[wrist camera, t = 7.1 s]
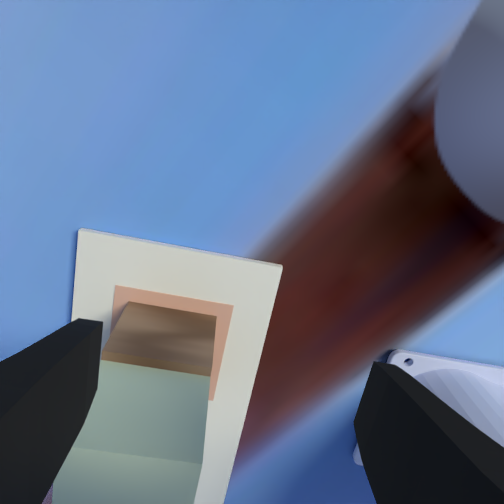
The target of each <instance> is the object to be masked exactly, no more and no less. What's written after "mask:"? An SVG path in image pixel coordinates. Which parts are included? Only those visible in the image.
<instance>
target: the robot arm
mask: <svg viewBox="0 0 504 504" xmlns="http://www.w3.org/2000/svg"><path fill="white" fill-rule="evenodd" d="M102 331H103V322H102V321H96V320H89V319H82V318H78V319H76V320H74V321H72V322H70V323H69V324H67V325H65V326H64V327H62V328H60V329H58V330H57V331H55V332H53V333H52V334H50V335H48V336H47V337H45V338H43V339H41V340H40V341H38V342H36V343H34V344H32V345H31V346H29V347H27V348H25V349H24V350H22V351H20V352H18V353H16V354H14V355H13V356H11V357H9V358H7V359H5V360H3V361H1V362H0V504H42V502H43V500H44V498H45V497H46V495H47V493H48V491H49V489H50V487H51V485H52V483H53V482H54V480H55V478H56V476H57V474H58V472H59V470H60V469H61V467H62V465H63V463H64V461H65V459H66V457H67V455H68V454H69V452H70V450H71V448H72V446H73V444H74V442H75V440H76V438H77V437H78V435H79V433H80V431H81V429H82V427H83V425H84V423H85V420H86V418H87V415H88V413H89V410H90V407H91V405H92V402H93V399H94V397H95V394H96V391H97V389H98V378H99V366H100V354H101V343H102ZM407 358H410V360H409V361H408V362H404V361H405V360H406V359H407ZM354 427H355V433H356V438H357V445H356V447H355V450H354V453H353V459H354V461H355V463H356V464H357V465H361V466H364V469H365V472H366V474H367V477H368V480H369V483H370V486H371V489H372V492H373V494H374V497H375V500H376V503H377V504H504V367H501V366H495V365H489V364H483V363H477V362H471V361H465V360H460V359H454V358H448V357H442V356H436V355H430V354H424V353H418V352H412V351H406V350H394V351H393V352H391V354H390V355H389V357H388V360H387V363H381V362H373V365H372V368H371V371H370V374H369V377H368V380H367V383H366V386H365V389H364V392H363V395H362V398H361V401H360V404H359V407H358V410H357V413H356V416H355V419H354Z"/></svg>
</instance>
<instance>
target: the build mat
mask: <svg viewBox="0 0 504 504" xmlns="http://www.w3.org/2000/svg"><path fill="white" fill-rule="evenodd" d="M282 269H283V267H282V265H280V264H274V263H269V262H264V261H258V260H253V259H247V258H242V257H237V256H231V255H226V254H220V253H215V252H209V251H204V250H199V249H193V248H188V247H182V246H177V245H172V244H166V243H161V242H155V241H150V240H145V239H139V238H134V237H128V236H123V235H118V234H112V233H107V232H101V231H96V230H91V229H85V228H81V229H79V230H78V243H77V256H76V268H75V281H74V294H73V307H72V319H71V322H72V321H74V320H76V319H78V318H82V319H89V320H96V321H102V322H103V331H102V343H101V354H100V361H101V355H102V350H103V348H104V346H105V344H106V342H107V340H108V339H109V337H110V335H111V333H112V331H113V330H114V328H115V326H116V324H117V322H118V320H119V319H120V317H121V315H122V313H123V311H124V309H125V308H126V306H127V304H128V302H129V301H130V302H136V303H142V304H148V305H154V306H160V307H166V308H172V309H178V310H184V311H189V312H195V313H201V314H207V315H213V316H217V319H216V330H215V341H214V353H213V364H212V371H211V376H210V388H209V399H208V410H207V420H206V431H205V442H204V453H203V464H202V469H201V473H200V478H199V482H198V487H197V491H196V496H195V500H194V504H224V500H225V496H226V492H227V488H228V484H229V480H230V476H231V472H232V468H233V464H234V460H235V456H236V452H237V448H238V444H239V440H240V436H241V432H242V428H243V424H244V420H245V416H246V412H247V408H248V404H249V400H250V396H251V392H252V388H253V384H254V380H255V376H256V372H257V368H258V364H259V360H260V356H261V352H262V348H263V344H264V340H265V336H266V333H267V329H268V325H269V321H270V317H271V313H272V309H273V305H274V301H275V297H276V293H277V289H278V285H279V281H280V277H281V273H282Z"/></svg>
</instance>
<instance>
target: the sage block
mask: <svg viewBox="0 0 504 504" xmlns="http://www.w3.org/2000/svg"><path fill="white" fill-rule="evenodd" d="M209 388H210V377H209V376H202V375H196V374H189V373H183V372H176V371H170V370H163V369H157V368H150V367H144V366H138V365H131V364H125V363H118V362H112V361H105V360H101V361H100V366H99V378H98V389H97V391H96V394H95V397H94V399H93V402H92V405H91V407H90V410H89V413H88V415H87V418H86V420H85V423H84V425H83V427H82V429H81V431H80V433H79V435H78V437H77V438H76V440H75V442H74V444H73V446H72V448H71V450H70V452H69V454H68V455H67V457H66V459H65V461H64V463H63V465H62V467H61V469H60V470H59V472H58V474H57V476H56V478H55V480H54V482H53V495H52V504H194V500H195V496H196V491H197V487H198V482H199V478H200V473H201V469H202V464H203V453H204V442H205V431H206V420H207V410H208V399H209Z"/></svg>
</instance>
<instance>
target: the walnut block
mask: <svg viewBox="0 0 504 504" xmlns="http://www.w3.org/2000/svg"><path fill="white" fill-rule="evenodd" d="M216 319H217V316H213V315H207V314H201V313H195V312H189V311H184V310H178V309H172V308H166V307H160V306H154V305H148V304H142V303H136V302H130V301H129V302H128V304H127V306H126V308H125V309H124V311H123V313H122V315H121V317H120V319H119V320H118V322H117V324H116V326H115V328H114V330H113V331H112V333H111V335H110V337H109V339H108V340H107V342H106V344H105V346H104V348H103V350H102V355H101V360H105V361H112V362H118V363H125V364H131V365H138V366H144V367H150V368H157V369H163V370H170V371H176V372H183V373H189V374H196V375H202V376H209V377H210V376H211V371H212V364H213V353H214V341H215V330H216Z"/></svg>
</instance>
